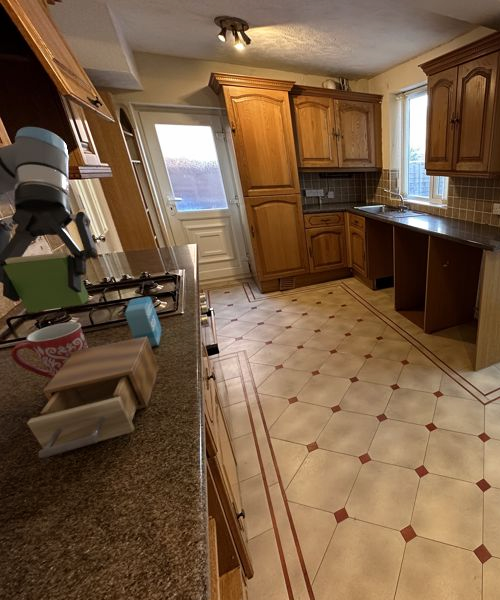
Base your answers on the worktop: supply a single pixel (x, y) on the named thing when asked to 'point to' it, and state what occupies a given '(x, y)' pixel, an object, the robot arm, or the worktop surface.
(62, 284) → the green block
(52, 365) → the mug
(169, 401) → the worktop surface
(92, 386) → the drawer
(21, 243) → the robot arm
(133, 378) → the cabinet
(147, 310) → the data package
